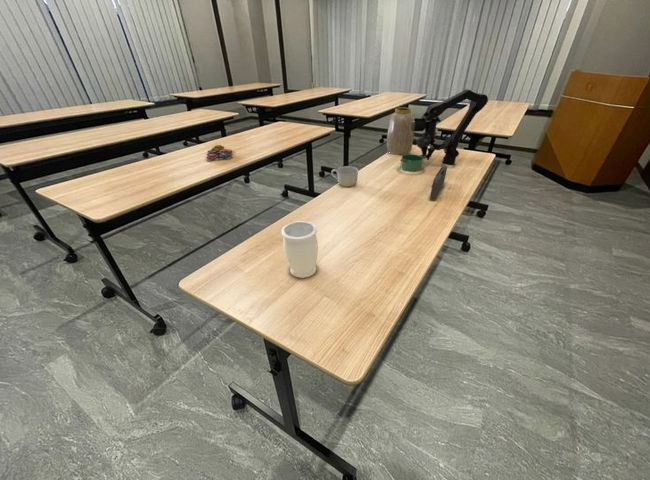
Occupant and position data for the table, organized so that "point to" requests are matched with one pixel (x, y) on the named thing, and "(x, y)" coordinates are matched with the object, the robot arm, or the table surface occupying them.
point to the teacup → (346, 175)
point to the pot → (412, 162)
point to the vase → (400, 132)
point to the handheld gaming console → (438, 182)
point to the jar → (300, 247)
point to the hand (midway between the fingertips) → (425, 159)
